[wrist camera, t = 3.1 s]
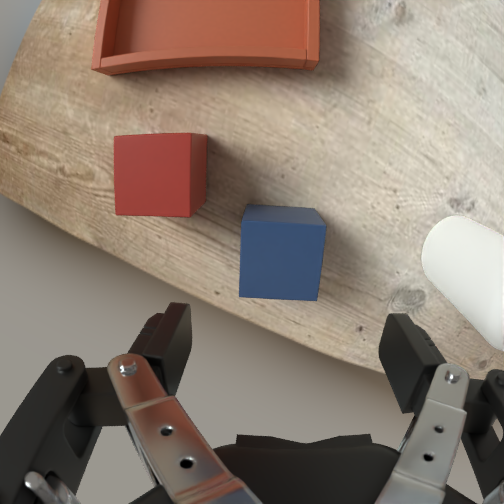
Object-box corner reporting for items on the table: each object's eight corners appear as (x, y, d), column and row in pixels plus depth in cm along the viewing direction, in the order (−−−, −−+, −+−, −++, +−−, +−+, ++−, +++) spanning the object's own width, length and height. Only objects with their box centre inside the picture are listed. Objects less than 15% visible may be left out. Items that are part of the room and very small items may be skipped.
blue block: (244, 267, 25) (238, 297, 20) (246, 204, 23) (241, 220, 19) (308, 271, 25) (317, 301, 20) (314, 208, 23) (326, 225, 18)
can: (415, 222, 23) (507, 285, 12) (476, 206, 22) (574, 253, 11) (420, 293, 25) (490, 379, 14) (477, 273, 24) (556, 341, 13)
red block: (143, 200, 24) (115, 215, 19) (142, 136, 22) (113, 136, 17) (206, 202, 23) (190, 217, 19) (207, 134, 22) (191, 132, 17)
